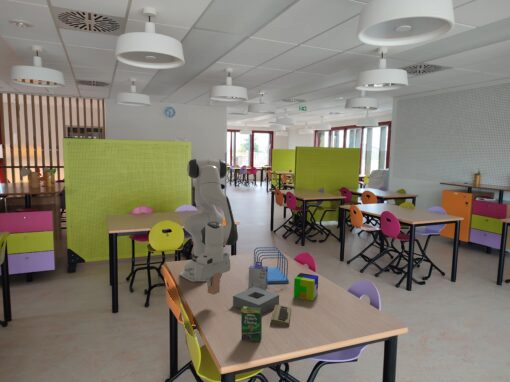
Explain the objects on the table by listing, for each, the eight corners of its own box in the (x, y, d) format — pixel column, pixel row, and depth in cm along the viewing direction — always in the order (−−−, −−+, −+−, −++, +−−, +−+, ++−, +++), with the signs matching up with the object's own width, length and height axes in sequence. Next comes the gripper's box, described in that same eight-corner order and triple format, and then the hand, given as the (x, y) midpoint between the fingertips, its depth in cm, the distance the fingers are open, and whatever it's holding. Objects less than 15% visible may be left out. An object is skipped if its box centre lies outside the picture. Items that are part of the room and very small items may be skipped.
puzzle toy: (317, 293, 191) (318, 275, 190) (312, 300, 181) (313, 281, 180) (299, 290, 195) (300, 272, 194) (293, 297, 186) (294, 278, 185)
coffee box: (240, 340, 141) (240, 308, 140) (242, 336, 144) (242, 305, 143) (260, 343, 139) (260, 310, 138) (261, 339, 142) (262, 307, 141)
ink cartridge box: (267, 287, 198) (268, 262, 197) (266, 291, 193) (266, 265, 191) (250, 285, 200) (250, 260, 199) (248, 289, 195) (248, 263, 193)
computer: (289, 327, 153) (289, 320, 153) (270, 325, 155) (270, 318, 154) (291, 312, 169) (291, 305, 168) (274, 310, 170) (274, 303, 170)
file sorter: (288, 283, 206) (289, 257, 204) (259, 284, 203) (259, 258, 201) (278, 269, 230) (279, 246, 229) (252, 270, 227) (252, 246, 226)
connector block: (207, 292, 172) (207, 272, 171) (213, 290, 175) (213, 270, 174) (213, 294, 170) (213, 274, 169) (219, 292, 173) (219, 272, 172)
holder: (232, 305, 173) (233, 295, 173) (253, 296, 186) (253, 286, 185) (258, 315, 163) (259, 304, 163) (278, 304, 176) (279, 294, 175)
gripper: (224, 250, 181) (223, 277, 182) (193, 259, 165) (193, 288, 166) (233, 253, 177) (233, 280, 178) (203, 262, 161) (202, 291, 162)
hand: (213, 284), depth 172 cm, fingers closed on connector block, 4 cm apart
